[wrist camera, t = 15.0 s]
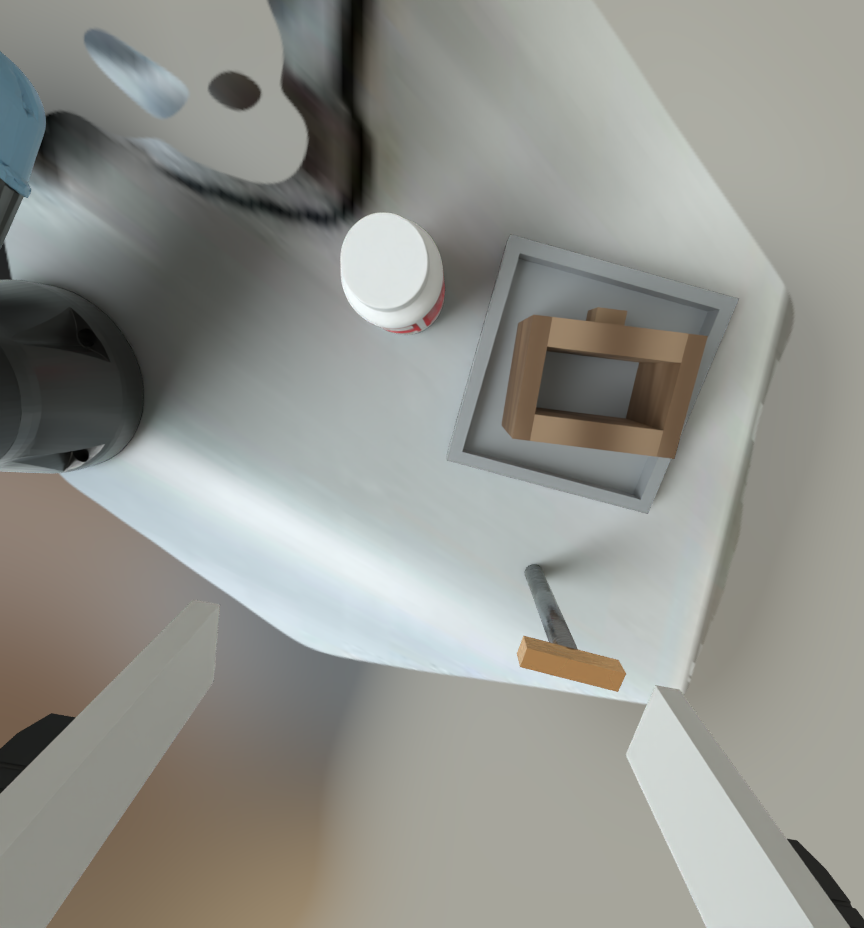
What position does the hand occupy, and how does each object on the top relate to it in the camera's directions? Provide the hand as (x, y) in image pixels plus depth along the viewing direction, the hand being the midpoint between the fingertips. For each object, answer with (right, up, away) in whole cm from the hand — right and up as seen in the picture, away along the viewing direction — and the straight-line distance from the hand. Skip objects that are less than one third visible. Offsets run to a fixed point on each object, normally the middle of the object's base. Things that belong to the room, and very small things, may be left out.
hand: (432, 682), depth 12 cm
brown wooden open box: (+12, +13, +20) cm, 27 cm away
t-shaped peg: (+9, -3, +25) cm, 27 cm away
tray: (+12, +13, +21) cm, 27 cm away
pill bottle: (-2, +20, +20) cm, 28 cm away
